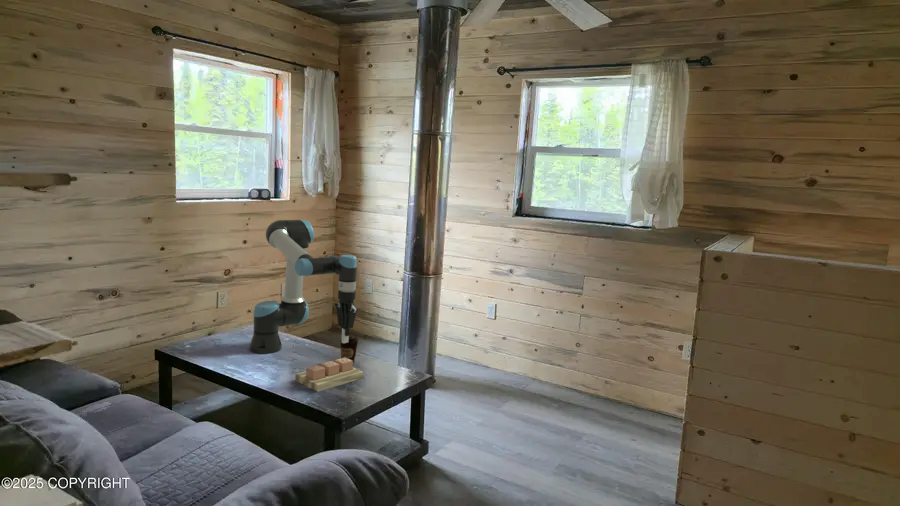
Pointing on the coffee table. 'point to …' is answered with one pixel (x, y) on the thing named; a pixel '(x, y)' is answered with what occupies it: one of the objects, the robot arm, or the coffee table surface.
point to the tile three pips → (344, 364)
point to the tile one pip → (315, 372)
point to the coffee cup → (349, 348)
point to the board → (329, 379)
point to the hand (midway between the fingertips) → (344, 342)
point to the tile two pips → (330, 368)
